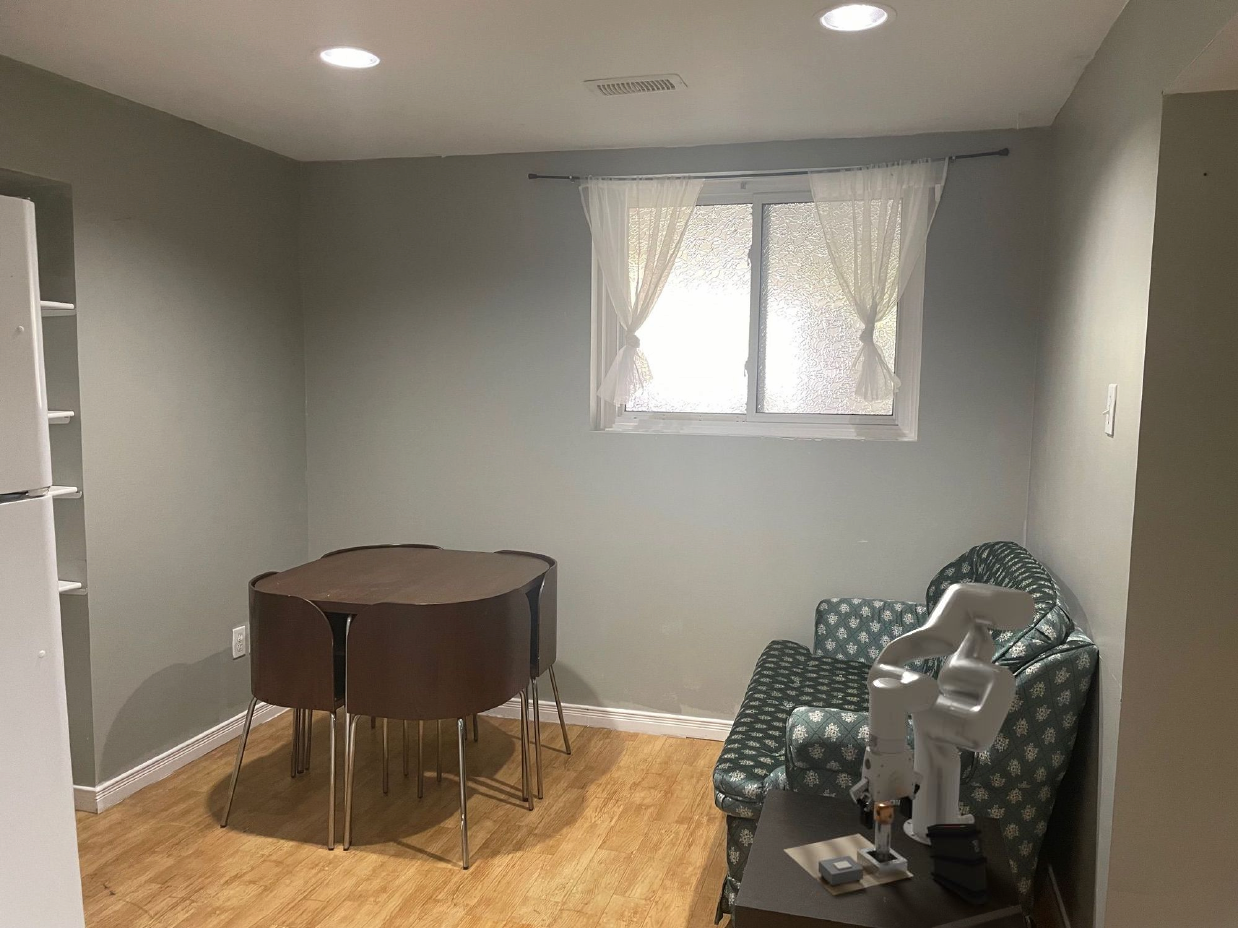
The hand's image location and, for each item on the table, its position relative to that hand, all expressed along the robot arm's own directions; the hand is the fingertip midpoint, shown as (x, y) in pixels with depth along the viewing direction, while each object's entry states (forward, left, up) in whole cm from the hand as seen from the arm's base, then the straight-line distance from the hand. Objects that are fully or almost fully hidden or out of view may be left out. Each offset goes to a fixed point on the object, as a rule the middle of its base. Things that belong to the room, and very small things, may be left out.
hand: (886, 821), depth 191 cm
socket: (+1, 0, -9) cm, 9 cm away
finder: (+11, +1, -9) cm, 15 cm away
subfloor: (+6, -4, -10) cm, 13 cm away
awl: (+1, 0, -9) cm, 9 cm away
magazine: (-8, +11, -11) cm, 18 cm away
